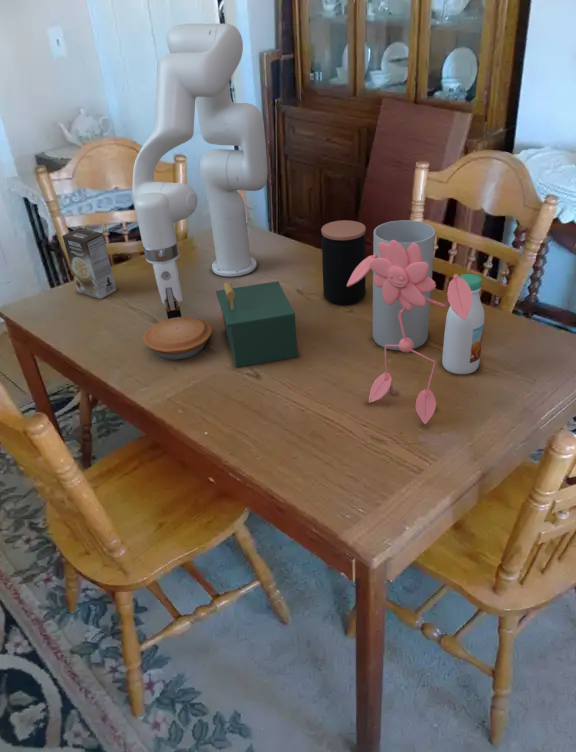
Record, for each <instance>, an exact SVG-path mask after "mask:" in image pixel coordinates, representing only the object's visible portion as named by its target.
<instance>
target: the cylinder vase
mask: <svg viewBox="0 0 576 752" xmlns="http://www.w3.org/2000/svg"><path fill="white" fill-rule="evenodd" d="M391 240H396V241H397V242H399V243H400V244H401V245H402V246H403V248H404V249H405V251H406V249H407V248H408V247H409V246H410V245H411V244H412V243H416V244H418V246H419V247H420V250H421V255H422V262H427V263H428V265H429V271H428V275H427V276H428V277H430V278H431V279H432V280H433V269H434V268H433V267H434V254H435V243H436V242H435V240H436V229H435V228H434V227H433V226H432V225H430V224H429V223H427V222H424V221H423V222H422V221H418V220H407V219H403V220H391V221H387V222H384V223H381V224H379V225H377V226H376V227H375V228H374V229H373V243H372V244H373V247H372V248H373V250H372V252H373V254H377V258H380V257H381V258H382V256H381V254H380V252H379V250H378V244H379V243H380V242H385V243H389V244H390V241H391ZM373 254H372V255H373ZM375 274H376V273H375V272H374V271H373V270H372V334H371V335H372V339H373V341H374V342H375V344H377V345H378V346H380V347H381V348H384V346H385V345H399V342H400V340H402V339H403V338H404V337H403V333H402V329H401V325H400V322H399V318H398V314H399V311H401V310H402V309H403V308H404V307H403V306H402V305H401V303H400V302H399V301H398V299H397V300H396V301H395V302H394V304H392V305H388V304H386V303H385V301H384V298H383V294H382V287H377V286H376V285H375V284H374V276H375ZM422 294H423V296H424V297H426V298H428V299H431V297H432V291H431V292H427V293H422ZM431 300H432V299H431ZM430 311H431V303H430V302H428V301H426V304H425V306H423V307H419V306H415V305H414V306H413V308H412V310H410V311H408V310H405V311H404V312H403V313H402V314H401V317H402V322H403V327H404V332H405V337H406V338H410V339H411V340H412V341H413V343H414V347H413V349H412V350H414V349H417V348H419V347H422V346H423V345H424V344H425V343H426V341H427V340H428V338H429V325H430ZM384 349H385V348H384ZM386 350H390V351H399V352H402V351H401V350H400V349H399V347H388V346H386Z"/></svg>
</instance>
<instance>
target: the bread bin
mask: <svg viewBox="0 0 576 752" xmlns="http://www.w3.org/2000/svg"><path fill="white" fill-rule="evenodd" d="M222 317H223V324H224V331H225V332H224V333H225V335H226V338H227V341H228V345H229V349H230V351H231V354H232V357H233V360H234V364H235V367H236V368H240V367H241V368H242V367H246V366H247V367H248V366H253V365H259V364H264V363H271V362H275V361H276V362H277V361H282V360H288V359H292V358H298V356H299V355H298V341H297V338H298V337H297V325H296V316H295V317H290V318H284V319H278V320H272V321H266V322H260V323H253V324H247V325H241V326H235V327H229V328H227V325H226V322H225V319H224V315H223V314H222Z"/></svg>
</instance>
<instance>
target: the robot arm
mask: <svg viewBox="0 0 576 752" xmlns="http://www.w3.org/2000/svg"><path fill="white" fill-rule="evenodd" d="M243 43H244V42H243V38H242V34H241V32H240V31H239V29H238V28H237V27H236V26H235V25H233V24H231V23H181V24H177V25H173V26H172V27H170V28H169V30H168V31H167V34H166V44H167V45H166V46H167V48H168V51H169V53H167V54H165V55H163V56H162V57H161V58H160V59H159V61H158V63H157V67H156V82H155V83H156V85H155V87H156V88H155V109H154V125H153V126H154V127H153V130H152V132H151V134H150V135H149V136H148V138H147V139H146V140H145V141H144V143H143V145H142V146H141V148H140V149H139V152H138V153H137V155H136V158H135V160H134V164H133V169H132V185H131V186H132V187H131V189H132V190H131V193H132V194H131V195H132V201H133V202H132V203H133V205H134V211H135V215H136V220H137V225H138V229H139V234H140V239H141V243H142V247H143V254H144V257H145V261H146V262H147V263H149V264H152V268H153V269H152V270H153V273H154V277H155V282H156V286H157V289H158V293H159V296H160V299H161V303H162V304H163V305H165V306H166V307H165V311H166V316H167V319H170V318H176V317H182V311H181V307H180V305H179V303H183V302H184V295H183V291H182V290H183V289H182V284H181V279H180V278H181V277H180V273H179V268H178V264H177V260H178V259H179V257H180V251H179V246H178V241H177V235H176V229H175V223H177V222H180V221H183V220H185V219H187V218H189V217H190V216H192V214H194V212H195V210H196V209H197V206H198V196H197V192H196V190H195V189H194V188H193V187H192V186H191V185H189V184H186V183H182V182H168V181H155V180H154V175H155V170H156V168H157V165H158V163H159V161H160V160H161V159H162V158H163V157H164V156H165V155H166V154H167V153H169V152H170V151H172V150H173V149H175V148H177V147H178V146H181V145H183V144H185V143H188V142H189V141H190V140H192V138H193V137H194V132H195V115H196V112H195V111H196V110H197V117H198V123H199V124H198V125H199V129H200V130H199V131H200V135H201V137H202V139H203V141H204V142H206V143H207V144H210V145H215V146H216V145H217V146H232V147H233V146H235V147H241V148H242V149H226V148H225V149H223V148H217V149H215V148H214V149H209V150H208V151H206V152H204V153H203V154H202V156H201V157H200V160H199V165H198V166H199V169H198V170H199V174H200V178H201V182H202V183H203V187H204V190H205V193H206V194H205V195H206V198H207V204H208V211H209V218H210V224H211V230H212V231H211V233H212V240H213V246H214V253H215V260H214V261H213V263H212V264H211V270H212V272H213V273H214V274H216V275H218V276H221V277H230V278H231V277H240V276H245V275H248V274H250V273H251V272H253V271H255V270H256V268H257V267H258V265H257V260H256V259H255V258H254V257H252V256H251V251H250V243H249V234H248V223H247V213H246V205H245V202H244V199H243V197H242V195H241V193H240V192H239V191H246V192H256V191H260V190H262V189H263V188H264V187H266V184H267V181H268V175H269V174H268V173H269V172H268V171H269V169H268V155H267V143H266V133H265V132H266V131H265V123H264V118H263V115H262V112H261V111H260V109H259V108H258V107H257V106H256V105H254V104H253V103H248V102H233V100H232V95H231V88H230V87H231V86H230V80H231V78H232V76H233V75H234V73H235V72H236V70H237V68H238V66H239V65H240V62H241V59H242V56H243V51H244V50H243V49H244V44H243Z"/></svg>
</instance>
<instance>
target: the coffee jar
mask: <svg viewBox="0 0 576 752" xmlns="http://www.w3.org/2000/svg"><path fill="white" fill-rule="evenodd" d="M320 231H321V235H322V237H321V260H322V261H321V264H322V289H323V291H322V292H323V293H322V294H323V297H324V298H325V299H326V301H327V302H328V303H330V304H332V305H335V306H343V307H344V306H352V305H356V304H358V303H360V302H361V301H362V300H363V299H364V297H365V295H366V288H367V287H366V285H367V284H366V281H367V279H366V276H367V274H366V275H365V276H364V277H363V278H362V279H361V280H360V281H358V282H357V283H355V284H353V285H351V286H349V287H347V284H348V281H349V279H350V277H351V275H352V273H353V271H354V270H355V269H356V267H357V266H358V265H359V264H360V263H361V262H362V261H363V260H364V259H366V258H367V238H366V235H365V234H366V231H367V228H366V225H365V224H363V223H362V222H359V221H356V220H346V219H345V220H343V219H342V220H335V221H331V222H328V223H325V224H324V225H322V227H321V229H320Z"/></svg>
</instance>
